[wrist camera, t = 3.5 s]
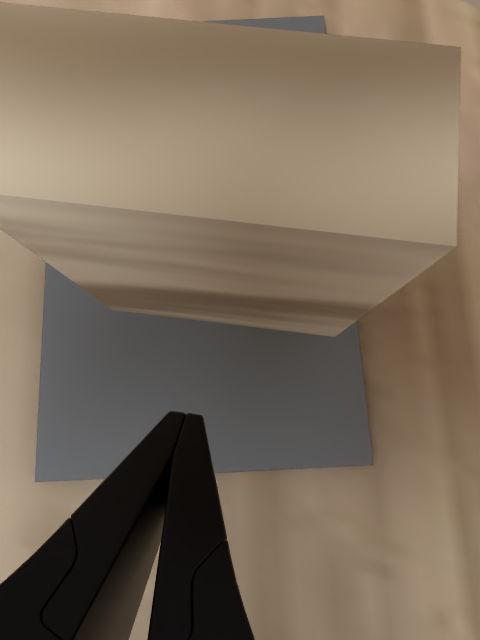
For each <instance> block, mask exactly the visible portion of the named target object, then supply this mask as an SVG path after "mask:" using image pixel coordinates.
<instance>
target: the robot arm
mask: <svg viewBox="0 0 480 640" xmlns="http://www.w3.org/2000/svg"><path fill="white" fill-rule="evenodd" d="M160 541H161V545H160V552H159V559H158V567H157V574H156V581H155V589H154V596H153V604H152V611H151V618H150V626H149V633H148V640H255V639H254V636H253V633H252V630H251V627H250V624H249V621H248V618H247V615H246V612H245V608H244V605H243V602H242V598H241V595H240V592H239V588H238V585H237V581H236V577H235V573H234V568H233V564H232V560H231V555H230V550H229V545H228V541H227V535H226V530H225V525H224V520H223V515H222V510H221V505H220V500H219V494H218V489H217V484H216V479H215V474H214V469H213V464H212V459H211V454H210V449H209V443H208V438H207V433H206V428H205V423H204V418H203V416H202V415H200V414H192V413H188V414H187V415H186V414H185V413H184V412H177V411H170V412H168V413H167V414H166V415H165V416H164V417H163V418H162V419H161V420H160V421H159V423H158V424H157V425H156V426H155V427H154V428H153V429H152V430H151V431H150V432H149V433H148V434H147V435H146V436H145V437H144V439H143V440H142V441H141V442H140V443H139V444H138V445H137V446H136V447H135V448H134V449H133V450H132V451H131V452H130V453H129V454H128V456H127V457H126V458H125V459H124V460H123V461H122V462H121V463H120V464H119V465H118V466H117V467H116V468H115V469H114V470H113V472H112V473H111V474H110V475H109V476H108V477H107V478H106V479H105V480H104V481H103V482H102V483H101V484H100V485H99V486H98V487H97V489H96V490H95V491H94V492H93V493H92V494H91V495H90V496H89V497H88V498H87V499H86V500H85V501H84V502H83V503H82V505H81V506H80V507H79V508H78V509H77V510H76V511H75V512H74V513H73V514H72V515H71V518H68V519H67V520H66V521H65V522H64V523H63V525H62V526H61V527H60V528H59V529H58V530H57V531H56V532H55V533H54V534H53V535H52V536H51V537H50V538H49V539H48V540H47V541H46V542H45V543H44V544H43V545H42V546H41V547H40V548H39V549H38V550H37V551H36V552H35V553H34V554H33V555H32V556H31V557H30V558H29V559H28V560H27V561H26V562H24V563H23V564H22V565H21V566H20V567H19V568H18V569H17V570H16V571H15V572H14V573H12V574H11V575H10V576H9V577H8V578H7V579H6V580H5V581H3V582H2V583H1V584H0V640H129V636H130V633H131V630H132V627H133V624H134V621H135V618H136V615H137V612H138V609H139V606H140V603H141V600H142V597H143V594H144V590H145V587H146V584H147V581H148V578H149V575H150V572H151V569H152V566H153V563H154V560H155V557H156V554H157V551H158V548H159V544H160Z"/></svg>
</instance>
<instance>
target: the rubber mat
mask: <svg viewBox="0 0 480 640" xmlns="http://www.w3.org/2000/svg"><path fill="white" fill-rule="evenodd" d="M204 22H208V23H219V24H229V25H239V26H249V27H260V28H270V29H280V30H290V31H301V32H311V33H321V34H326V32H325V23H324V16H308V17H287V18H266V19H246V20H225V21H204ZM170 411H177V412H184V413H185V414H186V415H187V414H188V413H192V414H200V415H202V416H203V418H204V423H205V428H206V433H207V438H208V443H209V449H210V454H211V459H212V464H213V469H214V473H224V472H244V471H263V470H283V469H303V468H322V467H342V466H361V465H373V458H372V449H371V440H370V431H369V422H368V413H367V404H366V395H365V386H364V377H363V367H362V358H361V349H360V340H359V331H358V322H357V321H356V322H354V323H353V324H352V325H350V326H349V327H348V328H346V329H345V330H344V331H342V332H341V333H340V334H338V335H337V336H336V337H330V336H322V335H314V334H306V333H297V332H289V331H281V330H273V329H265V328H256V327H248V326H240V325H232V324H224V323H215V322H207V321H199V320H191V319H183V318H175V317H166V316H158V315H150V314H142V313H134V312H125V311H117V310H112V309H110V308H109V307H107V306H106V305H105V304H103V303H102V302H100V301H99V300H98V299H96V298H95V297H94V296H92V295H91V294H89V293H88V292H87V291H85V290H84V289H83V288H81V287H80V286H78V285H77V284H76V283H74V282H73V281H72V280H70V279H69V278H67V277H66V276H65V275H63V274H62V273H60V272H59V271H58V270H56V269H55V268H54V267H52V266H51V265H49V264H48V263H47V262H46V269H45V289H44V309H43V329H42V349H41V369H40V389H39V409H38V429H37V449H36V469H35V482H47V481H67V480H86V479H106V478H107V477H108V476H109V475H110V474H111V473H112V472H113V470H114V469H115V468H116V467H117V466H118V465H119V464H120V463H121V462H122V461H123V460H124V459H125V458H126V457H127V456H128V454H129V453H130V452H131V451H132V450H133V449H134V448H135V447H136V446H137V445H138V444H139V443H140V442H141V441H142V440H143V439H144V437H145V436H146V435H147V434H148V433H149V432H150V431H151V430H152V429H153V428H154V427H155V426H156V425H157V424H158V423H159V421H160V420H161V419H162V418H163V417H164V416H165V415H166V414H167V413H168V412H170Z"/></svg>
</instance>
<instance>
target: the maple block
mask: <svg viewBox="0 0 480 640" xmlns="http://www.w3.org/2000/svg"><path fill="white" fill-rule="evenodd" d="M460 61H461V47H454V46H444V45H434V44H424V43H413V42H403V41H393V40H383V39H372V38H362V37H352V36H342V35H331V34H321V33H311V32H301V31H290V30H280V29H270V28H260V27H249V26H239V25H229V24H219V23H208V22H198V21H188V20H178V19H167V18H157V17H147V16H137V15H126V14H116V13H106V12H96V11H86V10H75V9H65V8H55V7H45V6H34V5H24V4H14V3H4V2H0V229H1V230H3V231H4V232H5V233H7V234H8V235H9V236H11V237H12V238H14V239H15V240H16V241H18V242H19V243H20V244H22V245H23V246H25V247H26V248H27V249H29V250H30V251H31V252H33V253H34V254H36V255H37V256H38V257H40V258H41V259H43V260H44V261H45V262H47V263H48V264H49V265H51V266H52V267H54V268H55V269H56V270H58V271H59V272H60V273H62V274H63V275H65V276H66V277H67V278H69V279H70V280H72V281H73V282H74V283H76V284H77V285H78V286H80V287H81V288H83V289H84V290H85V291H87V292H88V293H89V294H91V295H92V296H94V297H95V298H96V299H98V300H99V301H100V302H102V303H103V304H105V305H106V306H107V307H109V308H110V309H112V310H117V311H125V312H134V313H142V314H150V315H158V316H166V317H175V318H183V319H191V320H199V321H207V322H215V323H224V324H232V325H240V326H248V327H256V328H265V329H273V330H281V331H289V332H297V333H306V334H314V335H322V336H330V337H336V336H337V335H338V334H340V333H341V332H342V331H344V330H345V329H346V328H348V327H349V326H350V325H352V324H353V323H354V322H356V321H357V320H359V319H360V318H361V317H363V316H364V315H365V314H367V313H368V312H369V311H371V310H372V309H373V308H375V307H376V306H377V305H379V304H380V303H381V302H383V301H384V300H386V299H387V298H388V297H390V296H391V295H392V294H394V293H395V292H396V291H398V290H399V289H400V288H402V287H403V286H404V285H406V284H407V283H408V282H410V281H411V280H413V279H414V278H415V277H417V276H418V275H419V274H421V273H422V272H423V271H425V270H426V269H427V268H429V267H430V266H431V265H433V264H434V263H435V262H437V261H438V260H439V259H441V258H442V257H444V256H445V255H446V254H448V253H449V252H450V251H452V250H453V249H454V248H456V247H457V218H458V165H459V113H460Z"/></svg>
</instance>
